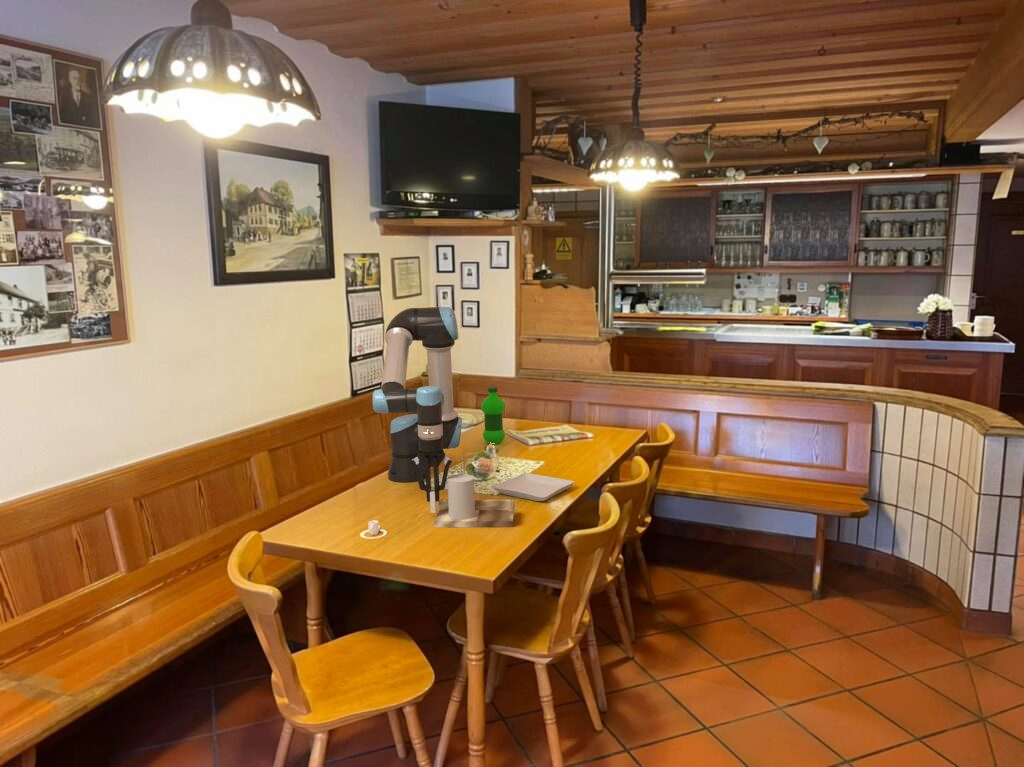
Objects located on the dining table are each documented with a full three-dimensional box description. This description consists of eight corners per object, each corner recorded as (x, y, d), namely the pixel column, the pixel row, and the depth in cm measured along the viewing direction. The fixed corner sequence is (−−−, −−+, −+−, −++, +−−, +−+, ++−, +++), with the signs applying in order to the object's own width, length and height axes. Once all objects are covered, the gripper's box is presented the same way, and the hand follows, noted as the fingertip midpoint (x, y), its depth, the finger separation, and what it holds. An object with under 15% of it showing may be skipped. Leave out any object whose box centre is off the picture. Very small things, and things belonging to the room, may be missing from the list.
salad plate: (576, 489, 260) (576, 480, 260) (544, 506, 243) (544, 496, 242) (525, 480, 272) (525, 471, 272) (492, 496, 255) (491, 486, 254)
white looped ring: (370, 528, 227) (370, 515, 226) (393, 531, 224) (392, 518, 223) (354, 538, 219) (354, 525, 218) (378, 541, 216) (377, 528, 215)
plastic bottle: (505, 445, 323) (504, 389, 319) (481, 446, 324) (479, 389, 320) (506, 440, 333) (505, 385, 329) (483, 440, 334) (481, 386, 329)
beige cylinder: (470, 509, 234) (469, 473, 232) (478, 517, 227) (477, 479, 225) (445, 513, 231) (444, 476, 230) (453, 521, 224) (451, 483, 222)
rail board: (434, 527, 225) (433, 511, 224) (439, 515, 236) (438, 500, 235) (513, 527, 224) (512, 511, 223) (514, 514, 235) (514, 499, 234)
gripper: (407, 440, 222) (410, 515, 226) (450, 439, 221) (453, 515, 225) (411, 434, 230) (415, 507, 233) (453, 434, 229) (456, 507, 233)
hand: (433, 511), depth 229 cm, fingers closed
